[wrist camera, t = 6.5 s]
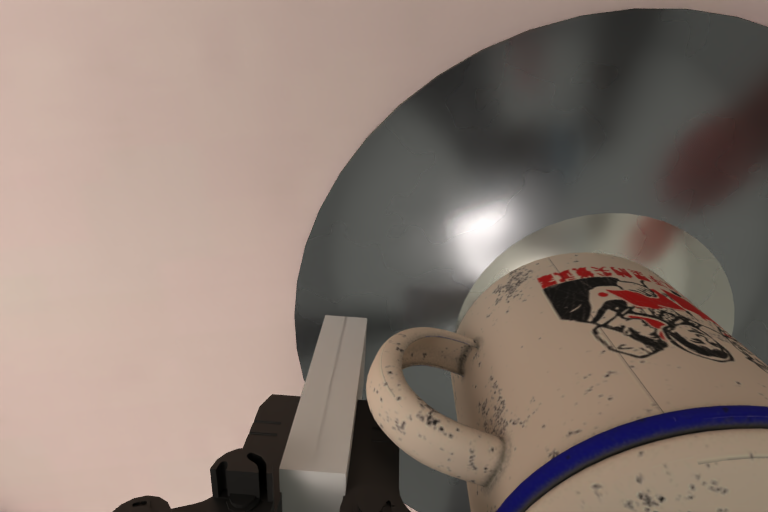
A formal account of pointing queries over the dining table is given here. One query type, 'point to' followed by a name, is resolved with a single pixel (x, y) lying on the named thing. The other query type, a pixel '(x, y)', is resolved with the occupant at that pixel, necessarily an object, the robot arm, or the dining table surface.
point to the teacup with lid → (584, 396)
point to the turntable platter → (552, 187)
